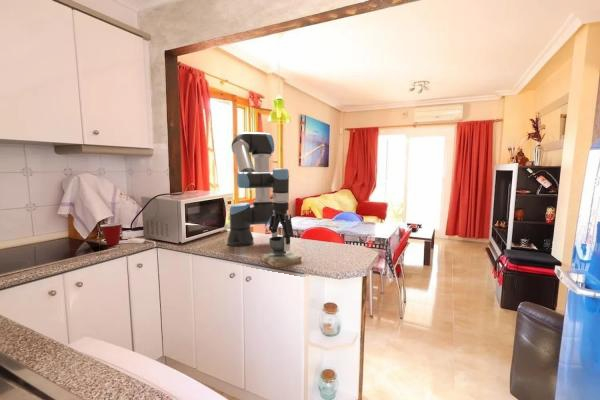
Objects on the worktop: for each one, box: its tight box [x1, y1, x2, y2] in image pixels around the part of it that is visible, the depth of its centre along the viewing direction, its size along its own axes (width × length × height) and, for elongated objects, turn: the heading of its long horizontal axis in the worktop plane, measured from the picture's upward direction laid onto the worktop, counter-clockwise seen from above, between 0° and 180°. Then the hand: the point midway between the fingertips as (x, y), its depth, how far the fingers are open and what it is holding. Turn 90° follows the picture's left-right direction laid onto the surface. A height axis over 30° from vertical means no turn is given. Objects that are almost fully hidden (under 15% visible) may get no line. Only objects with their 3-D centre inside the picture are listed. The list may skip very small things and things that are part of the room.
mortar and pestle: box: [268, 233, 286, 255], centre depth 139 cm, size 11×9×12 cm
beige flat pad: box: [259, 251, 302, 269], centre depth 140 cm, size 14×14×3 cm
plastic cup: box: [99, 222, 123, 247], centre depth 166 cm, size 11×11×12 cm
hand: (280, 248), depth 139 cm, fingers closed on mortar and pestle, 10 cm apart
